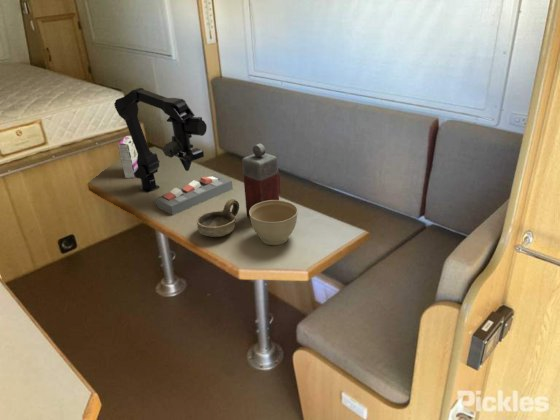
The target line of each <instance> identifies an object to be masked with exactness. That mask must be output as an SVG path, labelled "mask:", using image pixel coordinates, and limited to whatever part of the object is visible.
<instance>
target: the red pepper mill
mask: <svg viewBox="0 0 560 420" xmlns="http://www.w3.org/2000/svg"><path fill="white" fill-rule="evenodd" d="M277 157H278V156H275V155H272V154H269V153H266V147H265V146H264V145H263V144H262V143H258V144H255V145H253V147H252V154H251V155H247V156H245V157H243V158H242V161H241V163H242V174H243V186H244V197H245V198H244V199H245V208H246V209H245V210H246V217H247V216H248V218H250V215H249V211H250V209H251V207H253V206H254V205H255V204H257V203H260V202H264V201H269V200H280V195H281V191H282V190H281V176H280V172H279V168H278V158H277Z"/></svg>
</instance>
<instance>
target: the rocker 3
mask: <svg viewBox="0 0 560 420" xmlns="http://www.w3.org/2000/svg"><path fill="white" fill-rule="evenodd" d="M199 180H200V182H203V183H205V184H210V183H213V182H215V181H217V180H218V178H215V177H209V176H202V177H200V179H199Z"/></svg>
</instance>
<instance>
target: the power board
mask: <svg viewBox="0 0 560 420" xmlns="http://www.w3.org/2000/svg"><path fill="white" fill-rule="evenodd" d="M208 177H215V178H218V180H217V181H215V182H213V183H210V184H205V183H203V182H200V179H199V180H196V181H197V182H200V185H201V186H200V187H199V188H198V189H196V190H193V191H191V192H189V193H184V192H183V190H182V189H183V188H184V187H185V186H186V185H184V186H182V187H180V188H178V189H180V190H181V191H182V193H183V194H181V195H180V196H179V197H177V198H174V199H172V200H169V201H168V200H166V199H164V197H163V196H165V195H166V194H167V193H165V194H162V195H159V196H157V197H155V204H156V207H157V208H159V209H161V210H162V211H164V212H166V213H167V214H170V215H171V214H172V215H171V216H175V215H176V213H177V214H179V213H181V212H184V211H185V210H186V211H187V209H188V210H189V209H190V207H191V208H193V207H195V206H198V205H200V204H202V203H204V202H206V201H209V200H211V199H213V198H216V197H217V196H220V195H221V194H225V193H227V192H229V191H232V190H233V180H231V179H229V178H226V177H224V176H222V175H219V174H216V173H214V174H211V175H210V176H209V175H208ZM215 196H216V197H215ZM199 203H200V204H199ZM192 206H193V207H192ZM183 210H184V211H183ZM174 214H175V215H174Z"/></svg>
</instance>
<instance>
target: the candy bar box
mask: <svg viewBox="0 0 560 420" xmlns="http://www.w3.org/2000/svg"><path fill="white" fill-rule="evenodd" d="M117 148H118V151H119V156H120V160H121V166H122V169H123V174H124V178H125V179H135V178H136V177H135V174H134V173H135V172H136V170H137V169H138V165H137V158H138V153H137V151H136V148H135V145H134V143H133V140H132V137H131V135H126V136H123V138H122V139H121V141H119V142H118V144H117ZM136 179H137V178H136Z"/></svg>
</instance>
